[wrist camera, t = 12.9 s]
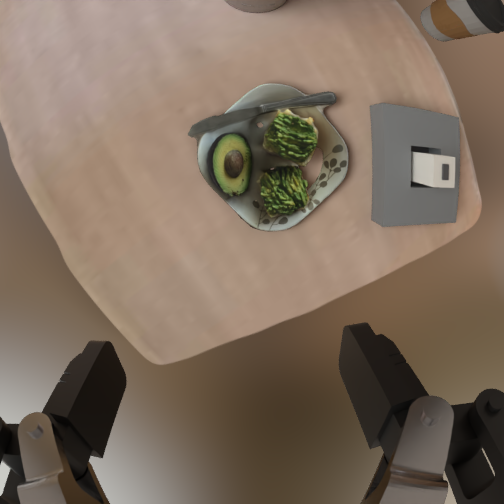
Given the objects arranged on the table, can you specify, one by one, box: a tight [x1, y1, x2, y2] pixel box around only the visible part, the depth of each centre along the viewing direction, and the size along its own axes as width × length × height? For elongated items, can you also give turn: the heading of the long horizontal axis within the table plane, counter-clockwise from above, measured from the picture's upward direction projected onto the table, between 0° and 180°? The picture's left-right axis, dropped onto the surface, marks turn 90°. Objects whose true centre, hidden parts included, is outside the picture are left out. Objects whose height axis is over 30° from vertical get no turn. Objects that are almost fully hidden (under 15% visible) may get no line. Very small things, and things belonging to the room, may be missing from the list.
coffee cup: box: [421, 0, 504, 41], centre depth 18 cm, size 8×8×15 cm
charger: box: [411, 152, 455, 188], centre depth 30 cm, size 4×4×7 cm
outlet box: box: [370, 103, 460, 227], centre depth 33 cm, size 16×14×4 cm
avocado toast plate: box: [188, 84, 348, 231], centre depth 31 cm, size 19×18×5 cm
